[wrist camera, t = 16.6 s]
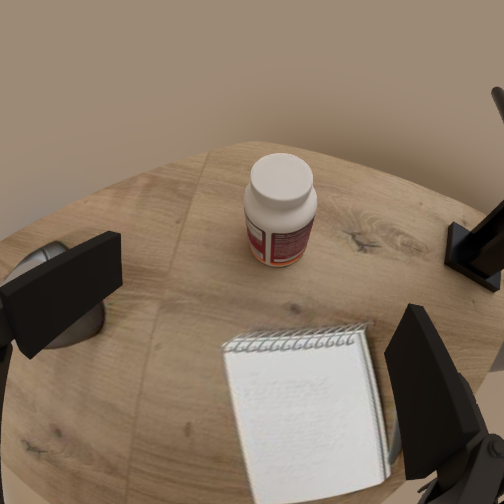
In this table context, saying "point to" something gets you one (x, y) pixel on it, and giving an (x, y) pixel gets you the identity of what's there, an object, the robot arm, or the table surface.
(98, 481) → the table surface
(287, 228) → the pill bottle
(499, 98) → the lever
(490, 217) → the bracket
